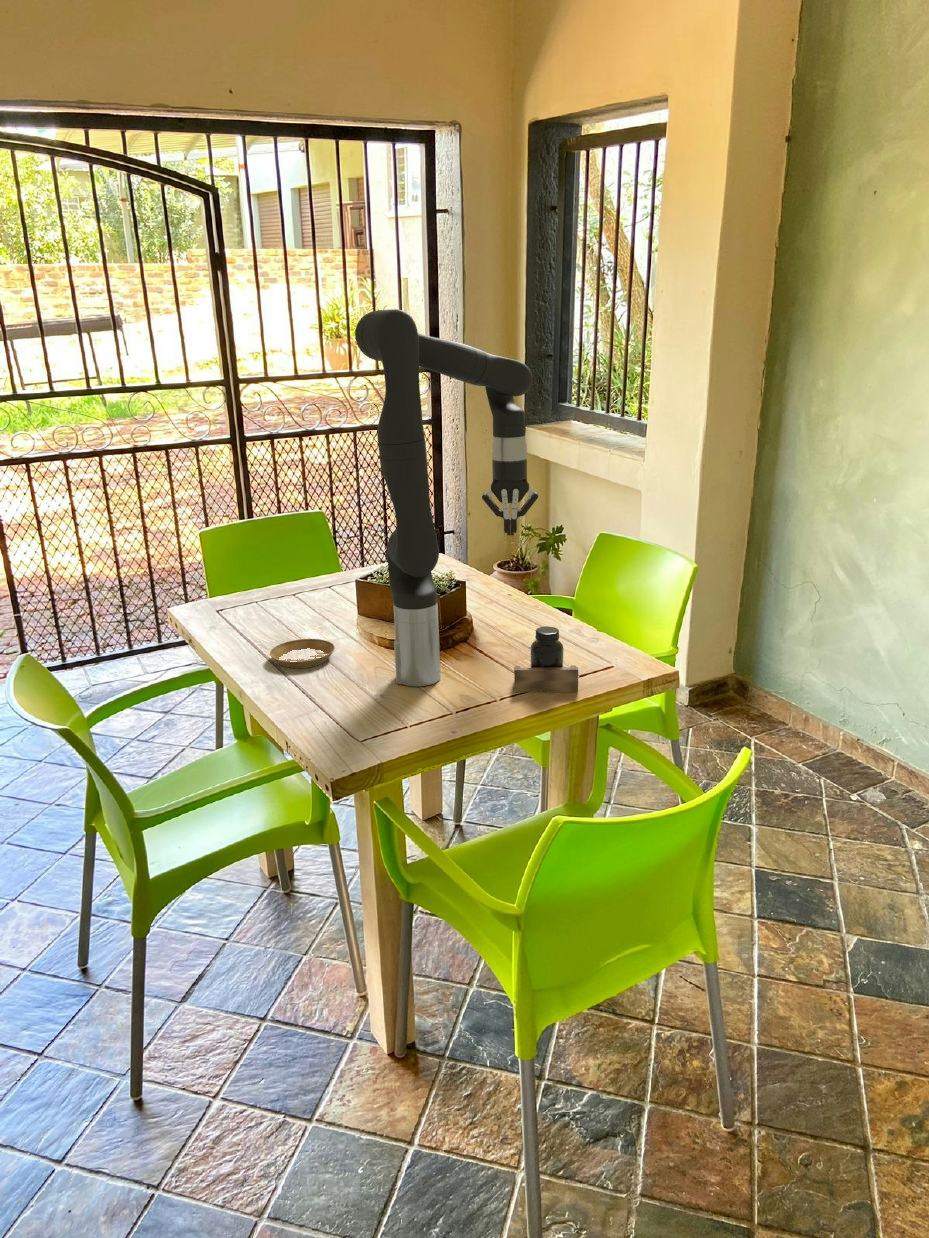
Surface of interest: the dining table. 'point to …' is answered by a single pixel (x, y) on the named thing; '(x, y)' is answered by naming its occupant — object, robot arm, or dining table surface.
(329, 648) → the plant saucer
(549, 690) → the block
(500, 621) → the dining table surface
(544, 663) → the supplement bottle
